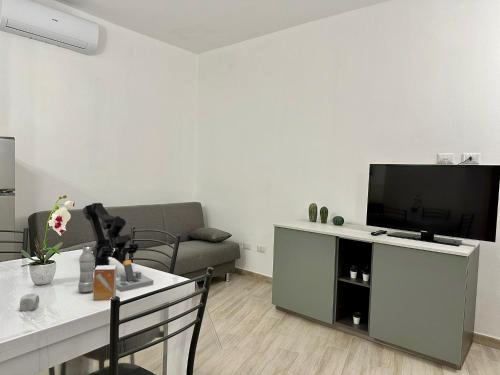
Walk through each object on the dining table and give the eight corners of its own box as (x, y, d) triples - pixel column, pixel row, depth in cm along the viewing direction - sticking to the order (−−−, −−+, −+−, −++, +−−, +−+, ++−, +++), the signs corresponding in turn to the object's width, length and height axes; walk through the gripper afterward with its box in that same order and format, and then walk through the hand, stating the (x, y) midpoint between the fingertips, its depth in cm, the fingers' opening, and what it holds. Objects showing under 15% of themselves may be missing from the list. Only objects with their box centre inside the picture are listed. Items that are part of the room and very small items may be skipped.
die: (19, 311, 128) (19, 298, 128) (24, 306, 133) (25, 293, 133) (34, 310, 130) (34, 297, 129) (39, 305, 134) (39, 293, 134)
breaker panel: (107, 283, 163) (107, 273, 163) (139, 277, 175) (139, 267, 174) (120, 291, 153) (121, 280, 153) (153, 284, 165) (153, 273, 165)
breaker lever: (126, 282, 163) (122, 262, 166) (133, 280, 166) (129, 261, 169) (128, 280, 162) (124, 260, 165) (135, 279, 164) (131, 259, 167)
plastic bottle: (90, 288, 157) (92, 244, 156) (96, 292, 152) (97, 247, 151) (75, 291, 152) (76, 246, 151) (81, 295, 147) (82, 248, 146)
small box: (93, 300, 142) (93, 269, 141) (96, 295, 148) (97, 265, 148) (113, 299, 144) (114, 268, 143) (116, 294, 150) (117, 264, 150)
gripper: (101, 230, 165) (110, 258, 158) (137, 227, 179) (147, 252, 171) (94, 244, 171) (103, 271, 164) (130, 240, 184) (139, 265, 177)
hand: (124, 264), depth 169 cm, fingers closed
